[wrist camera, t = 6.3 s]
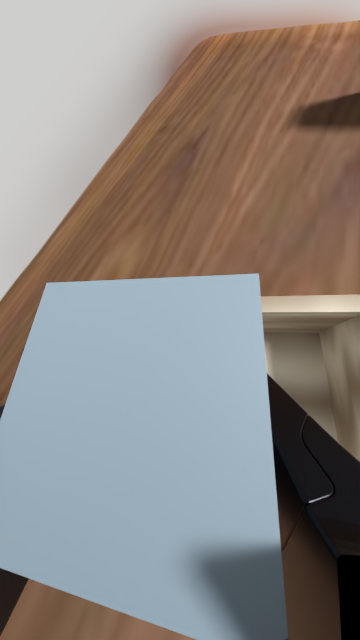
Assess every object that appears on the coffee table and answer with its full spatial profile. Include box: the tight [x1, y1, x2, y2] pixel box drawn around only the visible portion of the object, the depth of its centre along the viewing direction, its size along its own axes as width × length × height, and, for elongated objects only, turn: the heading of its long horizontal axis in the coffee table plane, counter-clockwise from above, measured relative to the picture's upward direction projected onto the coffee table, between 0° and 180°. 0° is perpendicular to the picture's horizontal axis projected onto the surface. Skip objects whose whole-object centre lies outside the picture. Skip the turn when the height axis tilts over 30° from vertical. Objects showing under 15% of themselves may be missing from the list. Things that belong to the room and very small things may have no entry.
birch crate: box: [261, 295, 360, 461], centre depth 15 cm, size 12×24×6 cm, turn 86°
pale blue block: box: [0, 274, 288, 640], centre depth 8 cm, size 5×5×11 cm
